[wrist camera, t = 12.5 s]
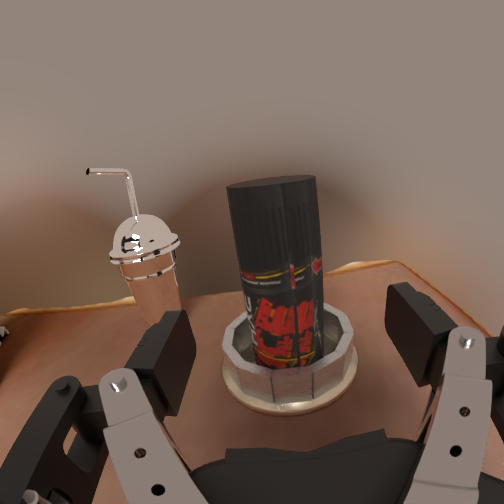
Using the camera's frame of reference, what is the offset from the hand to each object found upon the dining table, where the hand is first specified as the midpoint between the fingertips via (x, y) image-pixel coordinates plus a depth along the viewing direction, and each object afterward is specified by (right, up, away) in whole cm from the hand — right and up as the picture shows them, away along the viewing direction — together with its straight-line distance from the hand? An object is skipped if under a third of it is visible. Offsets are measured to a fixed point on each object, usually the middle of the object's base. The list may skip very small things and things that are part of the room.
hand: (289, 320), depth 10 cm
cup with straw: (-12, -7, +22) cm, 26 cm away
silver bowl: (+2, -7, +13) cm, 15 cm away
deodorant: (+2, -7, +13) cm, 14 cm away
